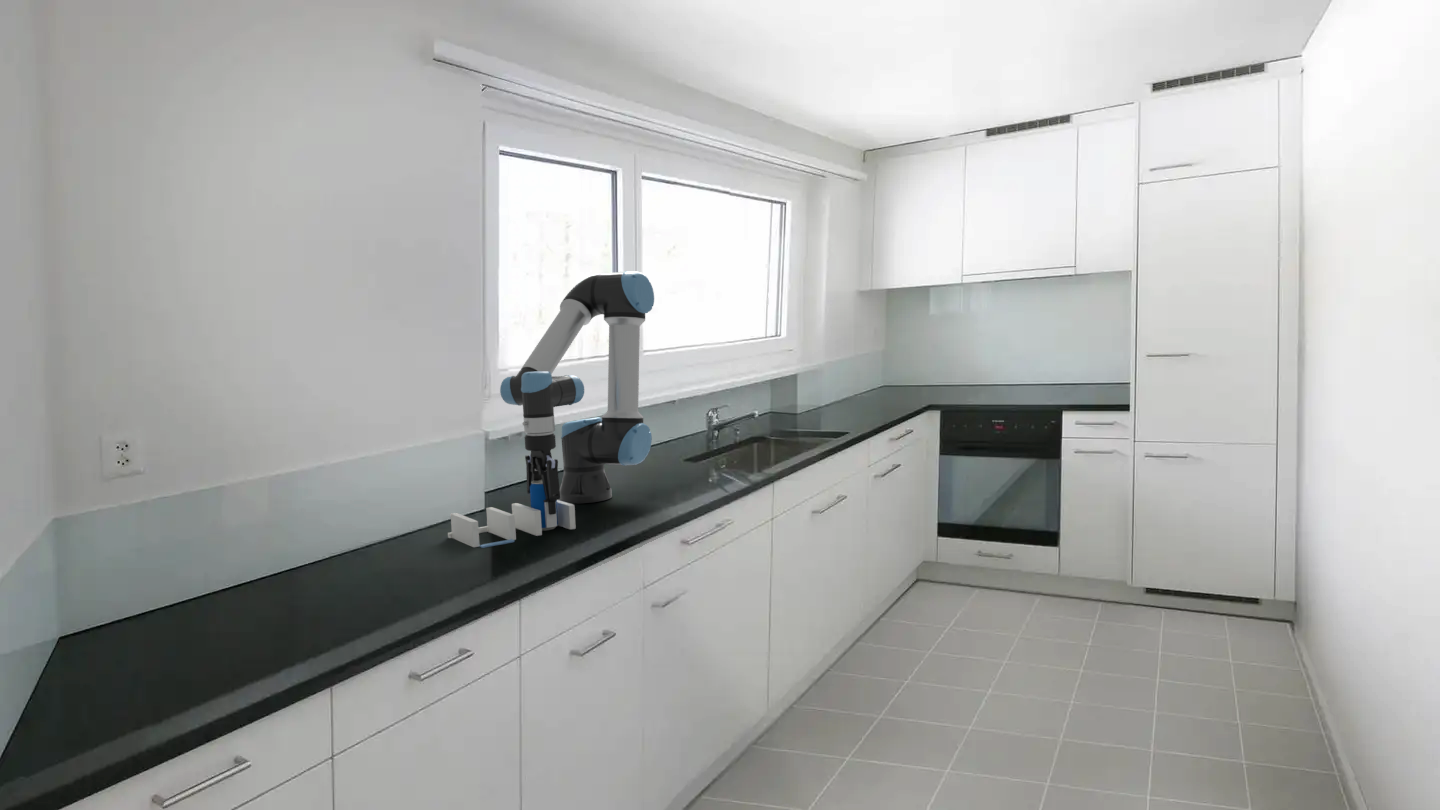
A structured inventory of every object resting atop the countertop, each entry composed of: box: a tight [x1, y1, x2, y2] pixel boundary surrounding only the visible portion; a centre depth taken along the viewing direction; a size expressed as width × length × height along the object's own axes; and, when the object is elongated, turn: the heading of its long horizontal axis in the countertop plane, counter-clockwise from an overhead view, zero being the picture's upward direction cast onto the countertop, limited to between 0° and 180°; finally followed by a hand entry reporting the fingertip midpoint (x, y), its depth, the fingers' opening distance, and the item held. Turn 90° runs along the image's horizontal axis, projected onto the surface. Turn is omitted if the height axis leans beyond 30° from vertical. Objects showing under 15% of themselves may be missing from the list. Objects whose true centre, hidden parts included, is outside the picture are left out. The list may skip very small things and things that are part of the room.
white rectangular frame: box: [447, 499, 577, 548], centre depth 239 cm, size 28×14×6 cm, turn 126°
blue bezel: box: [479, 539, 515, 549], centre depth 228 cm, size 8×2×1 cm, turn 126°
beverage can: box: [529, 480, 558, 532], centre depth 243 cm, size 6×6×12 cm
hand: (545, 524), depth 243 cm, fingers closed on beverage can, 6 cm apart
